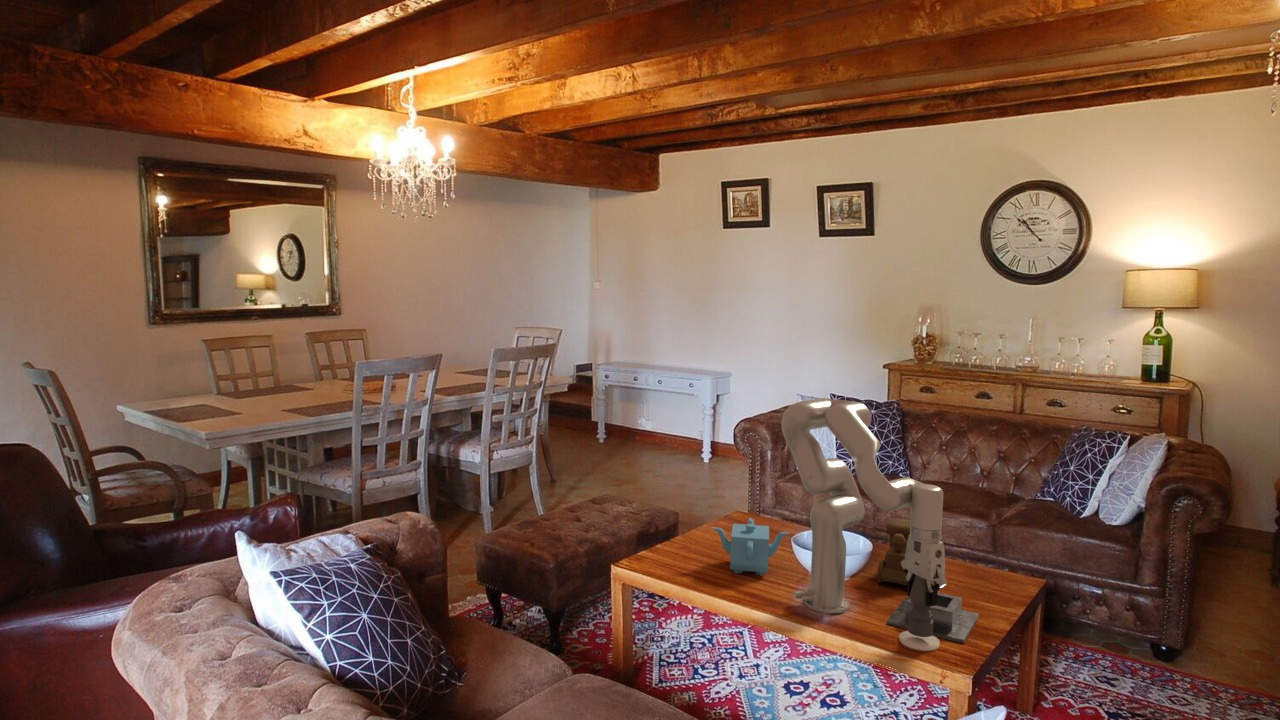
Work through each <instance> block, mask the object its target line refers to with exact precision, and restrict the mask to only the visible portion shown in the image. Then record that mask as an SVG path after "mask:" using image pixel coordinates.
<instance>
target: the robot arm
mask: <svg viewBox="0 0 1280 720" xmlns="http://www.w3.org/2000/svg"><path fill="white" fill-rule="evenodd" d="M871 423H872V413H871V411H870V410H869V407H868V406H866V405H865V404H864V403H862V402H859V401H855V400H854V401H852V400H844V399H843V400H842V399H836V398H828V397H827V398H817V399H809V400H802V401H797V402H795V403H792V404H791V405H789V406H788V407H787V408H786V409H785V411H783V414H782V418H781V427H780V428H781V431H782V432H781V433H782V435H783V438H784V440H785V442H786V444H787V446H788V448H789V450H790V452H791V455H792V458H793V461H794V463H795V466H796V468H797V471H798V474H799V477H800V480H801V483H802V484H803V487H804V488H805V490H806V491H807V492H808V494H811V495H813V496H814V495H815V496H816V495H817V496H819V495H823V494H827V493H829V494H830V496H829V497H825V498H821V499H819V500H817V501H816V502H815V503H814V504H813V505H812V507H811V509H810V511H809V512H810V513H809V521H810V526H811V527H810V528H811V565H810V566H811V567H810V568H811V569H810V586H806V589H805V590H803V591H798V590H797V591H794V592H793V598H794V599H800V601H802V602H803V601H804V605H805V606H806V607H807V608H809V609H810V610H813V611H815V612H819V613H823V614H835V615H836V614H841V613H844V612H847V611H848V610H849V608H850V603H849V601H848V600H847V599H846V598H845V585H846V584H845V581H846V564H847V563H846V560H847V559H846V558H847V544H846V539H845V537H844V534H843V530H845V529H847V528H850V527H853V526H855V525H857V524H859V523H861V522H862V520H863V519H864V517H865V505H864V501H863V499H862V496H861V494H860V490H859V488H858V486H857V485H858V484H857V483H856V481H855V480H856V479H854V476H853V473H852V471H851V469H850V468H849V466H848V465H847V464H846V462H844V461H843V460H841V459H839V458H834V457H833V458H826V456H825V455H824V452H823V450H822V447H821V445H820V443H819V441H818V440H817V438H815V436H814V435H813V434H812V433H811V432H810V431H811V430H815V429H821V428H822V429H823V428H828V429H829V431H830V432H831V433H832V434H833V436H835V438H836V440H837V441H838V442H839V443H840V445H841V446H842V447H843V448H844V449H845V451H846V452H847V454H848V455H849V456H850V457H851V458H852V459H853V462H854V469H855V473H856V474H855V475H856V477H857V482H858V483H859V486H860V487H861V489H862V490H863V491H864V493H865V494H866V495H867V497H868V498H869V499H870V500H871V501H872V502H873V504H874V505H875V506H876V507H878V508H879V509H881V510H883V511H885V512H894V511H898V510H900V509H904V508H910V507H911V508H910V509H911V510H910V521H911V525H910V534H909V537H908V541H907V546H906V553H905V559H904V560H903V561H902V562H901V565H902V567H903V569H904V572H905V574H906V576H907V577H906V580H907V581H908V586H907V591H906V595H907V596H906V597H910V592H911V589H912V585H913V582H914V579H915V575H918V576H920V577H921V578H923V579H926V581H927V586H928V590H929V591H927V592H926V606H927V607H930V606H936V605H937V594H938V592H940V591H941V589H942V588H944V587H945V586H946V585H947V584H948V581H947V578H946V577H945V576H946V575H945V574H946V553H945V546H944V542H943V541H941V540H943V534H942V526H943V523H942V522H943V511H944V510H943V508H944V507H943V506H944V491H943V489H942V488H941V487H939V486H938V485H934V484H927V483H926V484H925V483H923V482H921V481H918V480H916V479H913V478H911V477H902V478H901V477H900V478H896V479H893V480H888V479H887V478H886V476H885V475H884V474H883V473H882V472H881V470H880V469H879V466H878V464H877V461H876V455H877V453H878V451H879V450H880V448H881V443H880V441H879V439H878V438H877V437H876V436H875V434H874V433H873V432H872V431H871V429H870V428H869V427H870V426H871ZM914 540H915V541H918V542H921V552H920V553H918V552H916V551H914ZM915 562H917V563H919V566H918V565H916V564H915Z"/></svg>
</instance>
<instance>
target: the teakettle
mask: <svg viewBox="0 0 1280 720" xmlns="http://www.w3.org/2000/svg"><path fill="white" fill-rule="evenodd" d="M754 522H755V519H754V518H753V517H749V518H748V523H745V524H744V523H732V529H731V535H730V541H729V540H728V538H727V536H726V533H725V531H724V530H723V528H720V527H718V526H717V527H716V526H712V527H711V529H712V530H714V531H716V532H717V534H718V536H719V538H720V541H721V545H722V547H723V549H724V551H725V552H726V553H728V554H730V556H729V557H730V560H729V561H730V562H729V570H730V571H732V573H733V572H734V573H733V574H735V573H736V574H737V575H741V574H743V572H752V573H755V575H756V574H757V576H759V575H763V576H765V575H766V574H767V573H769V557H772V556H773V555H775V554H776V552H777V551H778V549H779V547H780V544H781V541H782V539H783V538H784V537H785V536H787V535H790V532H788V531H781V532H779V533H778V534H776V537H775V539H774V541H773V542H772V543H771V544H770V527H769V525H759V524H758V525H757V524H755V523H754ZM740 573H741V574H740Z"/></svg>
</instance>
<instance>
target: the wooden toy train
mask: <svg viewBox="0 0 1280 720" xmlns="http://www.w3.org/2000/svg"><path fill="white" fill-rule="evenodd" d="M886 525H887V526H886V535H888V536H889V541H888V542H889V548H888V550H887V551H886V552H885V555H884V559H881V560H879V562H878V566H877V572H876V578H877V581H878V582H879V583H880V584H882V583H884V582H885V581H886V582H889V583H894V584H900V585H905V586H907V587H908V581H907V580H906V577H907V576H906V574H905V572H904V569H903V567H902V565H901V562H902V561H903V560H904V559H905V553H906V546H907V541H908V537H909V534H910V525H911V519H909V520H908V519H905V518H904V519H903V518H902V519H901V518H892V519H890V520H889V521H888V522H887V524H886Z"/></svg>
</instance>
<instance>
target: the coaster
mask: <svg viewBox="0 0 1280 720" xmlns="http://www.w3.org/2000/svg"><path fill="white" fill-rule="evenodd" d="M938 638H939V637H936V636H933V635H932V636H930V637H919V636H915V635H913V634H911V633H909V632H908V630H905V631H902V632H900V634H899V636H898V640H899V642H900V643H901V644H902V645H903V646H904V647H907V648H908V649H911V650H915V651H919V652H920V651H921V652H932V651H933V652H934V651H936V650H938V649H939V648H940V647H939V646H941V641H940V640H939V639H938Z"/></svg>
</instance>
